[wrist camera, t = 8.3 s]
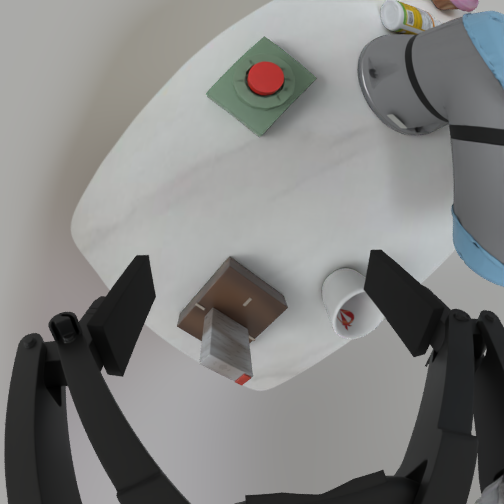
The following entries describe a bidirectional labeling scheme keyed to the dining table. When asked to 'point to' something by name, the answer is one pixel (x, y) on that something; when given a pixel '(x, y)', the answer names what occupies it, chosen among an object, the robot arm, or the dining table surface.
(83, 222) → the dining table surface
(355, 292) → the cup
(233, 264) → the tap panel
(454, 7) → the cupcake
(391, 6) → the supplement bottle
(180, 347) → the dining table surface
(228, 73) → the button box
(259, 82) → the button
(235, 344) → the gray rectangular block
